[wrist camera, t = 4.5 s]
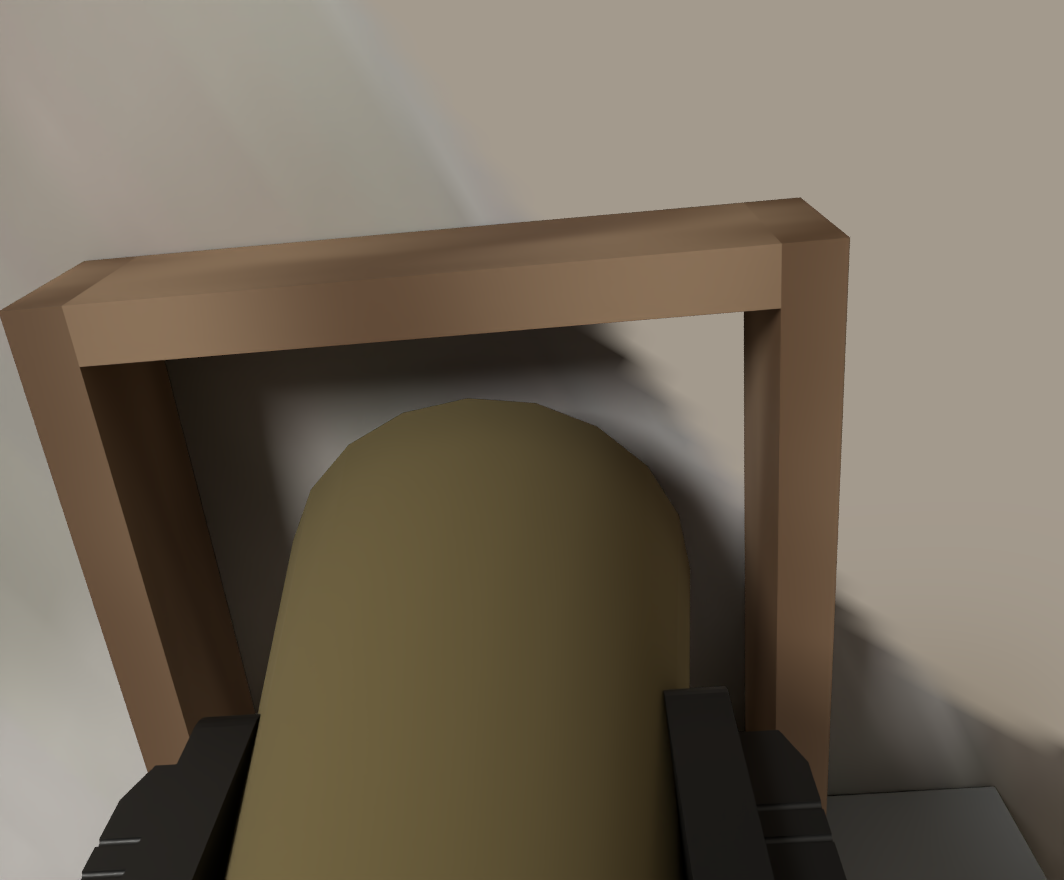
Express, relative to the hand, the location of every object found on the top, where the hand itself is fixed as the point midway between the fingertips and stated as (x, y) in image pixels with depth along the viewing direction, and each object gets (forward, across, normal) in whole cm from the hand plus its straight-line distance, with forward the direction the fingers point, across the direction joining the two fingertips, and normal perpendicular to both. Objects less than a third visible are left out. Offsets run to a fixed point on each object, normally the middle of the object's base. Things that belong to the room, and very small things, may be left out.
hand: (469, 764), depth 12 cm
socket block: (+5, 0, 0) cm, 5 cm away
